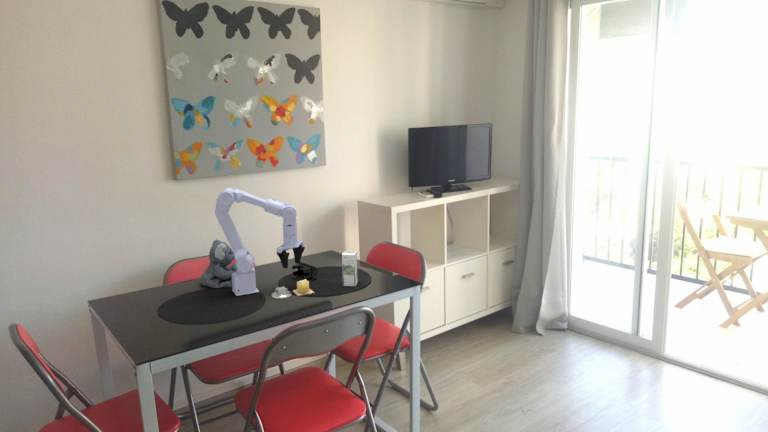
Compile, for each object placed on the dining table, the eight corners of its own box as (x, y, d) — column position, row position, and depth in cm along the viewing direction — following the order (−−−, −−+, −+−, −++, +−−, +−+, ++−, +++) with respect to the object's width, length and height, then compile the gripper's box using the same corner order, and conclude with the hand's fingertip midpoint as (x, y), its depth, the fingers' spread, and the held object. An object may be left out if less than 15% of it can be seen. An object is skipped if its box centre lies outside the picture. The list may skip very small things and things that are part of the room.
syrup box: (357, 282, 237) (357, 250, 234) (355, 287, 232) (355, 254, 229) (344, 282, 238) (343, 250, 235) (342, 286, 232) (341, 254, 229)
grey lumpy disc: (275, 300, 217) (274, 292, 217) (269, 294, 224) (268, 287, 224) (294, 296, 221) (293, 289, 220) (287, 290, 228) (287, 284, 227)
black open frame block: (318, 279, 243) (317, 264, 241) (305, 283, 238) (304, 268, 237) (305, 274, 250) (304, 260, 248) (292, 278, 245) (291, 263, 244)
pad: (298, 296, 221) (298, 295, 221) (292, 291, 227) (292, 290, 227) (314, 293, 224) (314, 292, 224) (308, 288, 231) (308, 287, 230)
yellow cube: (304, 294, 222) (303, 283, 222) (294, 292, 225) (294, 281, 224) (311, 290, 227) (311, 279, 226) (302, 288, 229) (301, 278, 228)
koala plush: (245, 286, 234) (242, 242, 230) (202, 292, 228) (198, 247, 224) (240, 275, 250) (237, 234, 246) (199, 280, 243) (196, 238, 239)
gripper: (285, 238, 217) (286, 271, 220) (309, 231, 229) (310, 262, 232) (272, 236, 221) (273, 268, 224) (296, 229, 233) (297, 260, 236)
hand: (291, 265), depth 228 cm, fingers open, 7 cm apart
